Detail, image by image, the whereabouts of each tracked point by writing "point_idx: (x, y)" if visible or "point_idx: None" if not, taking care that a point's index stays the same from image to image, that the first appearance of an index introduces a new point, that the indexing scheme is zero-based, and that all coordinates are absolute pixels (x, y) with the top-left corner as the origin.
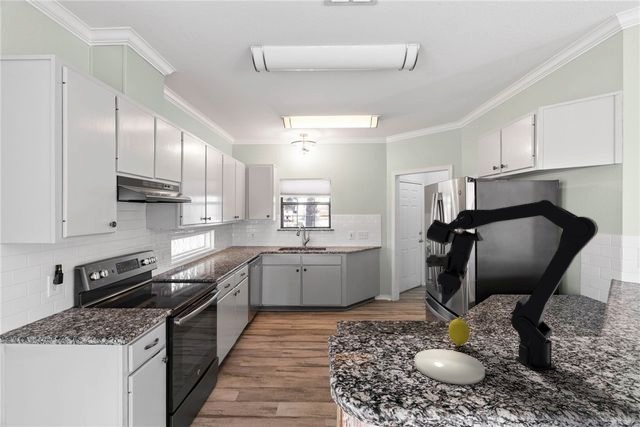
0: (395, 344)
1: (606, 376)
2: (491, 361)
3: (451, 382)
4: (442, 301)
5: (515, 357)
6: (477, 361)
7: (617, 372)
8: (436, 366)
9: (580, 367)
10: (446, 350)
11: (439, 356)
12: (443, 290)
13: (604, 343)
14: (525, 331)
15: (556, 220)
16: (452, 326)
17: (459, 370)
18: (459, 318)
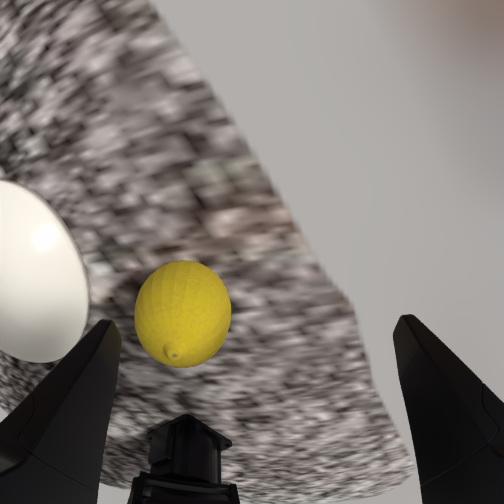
0: (61, 59)
1: None
2: (128, 370)
3: None
4: (90, 339)
5: (185, 417)
6: (63, 350)
7: (243, 498)
8: None
9: (230, 478)
10: (69, 262)
11: (15, 251)
12: (14, 427)
13: (383, 480)
14: (128, 500)
15: None
16: (139, 307)
17: None
18: (173, 357)
